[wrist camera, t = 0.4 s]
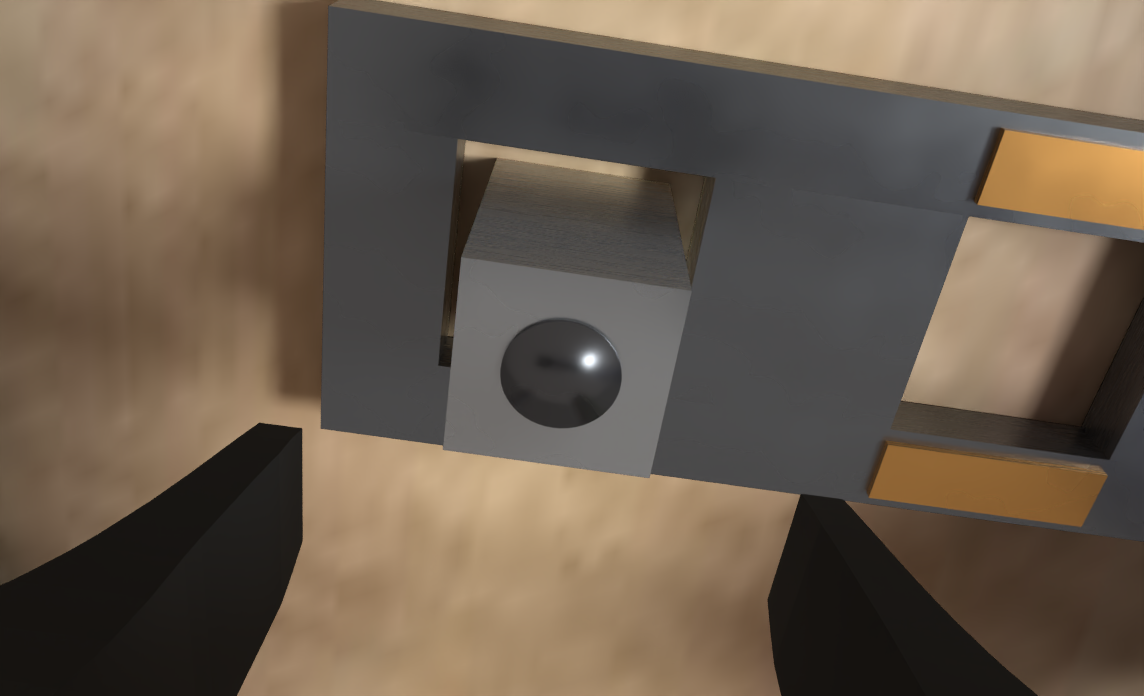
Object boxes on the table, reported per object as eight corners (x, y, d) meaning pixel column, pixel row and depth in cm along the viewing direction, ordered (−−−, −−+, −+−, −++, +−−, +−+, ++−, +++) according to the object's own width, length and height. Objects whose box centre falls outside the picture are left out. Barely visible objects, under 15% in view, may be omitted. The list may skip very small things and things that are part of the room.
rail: (1343, 151, 20) (1403, 175, 19) (1145, 509, 25) (1180, 551, 23) (347, -5, 19) (325, 6, 18) (336, 397, 24) (318, 433, 23)
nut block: (669, 183, 21) (692, 293, 16) (638, 336, 23) (649, 481, 18) (497, 157, 21) (460, 259, 16) (480, 313, 23) (442, 452, 17)
